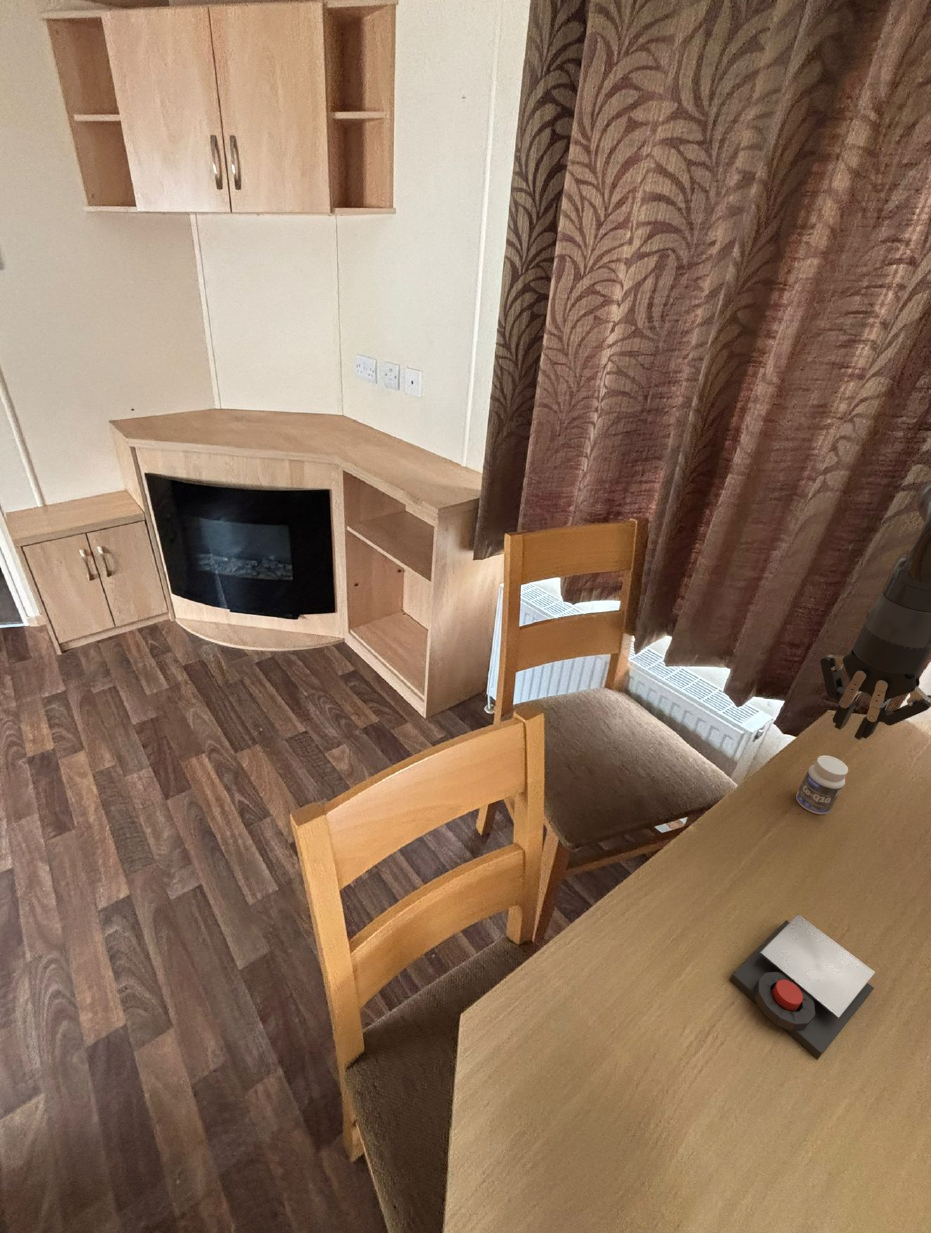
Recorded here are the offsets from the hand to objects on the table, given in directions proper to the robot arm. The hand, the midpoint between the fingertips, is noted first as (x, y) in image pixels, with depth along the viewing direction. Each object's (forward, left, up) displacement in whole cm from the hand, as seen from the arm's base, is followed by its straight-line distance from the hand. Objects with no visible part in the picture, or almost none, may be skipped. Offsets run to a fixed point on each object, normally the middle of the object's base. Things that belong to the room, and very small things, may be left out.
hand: (849, 731), depth 87 cm
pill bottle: (0, 0, -15) cm, 15 cm away
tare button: (+34, +13, -12) cm, 39 cm away
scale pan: (+28, +13, -12) cm, 33 cm away
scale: (+30, +13, -15) cm, 36 cm away
